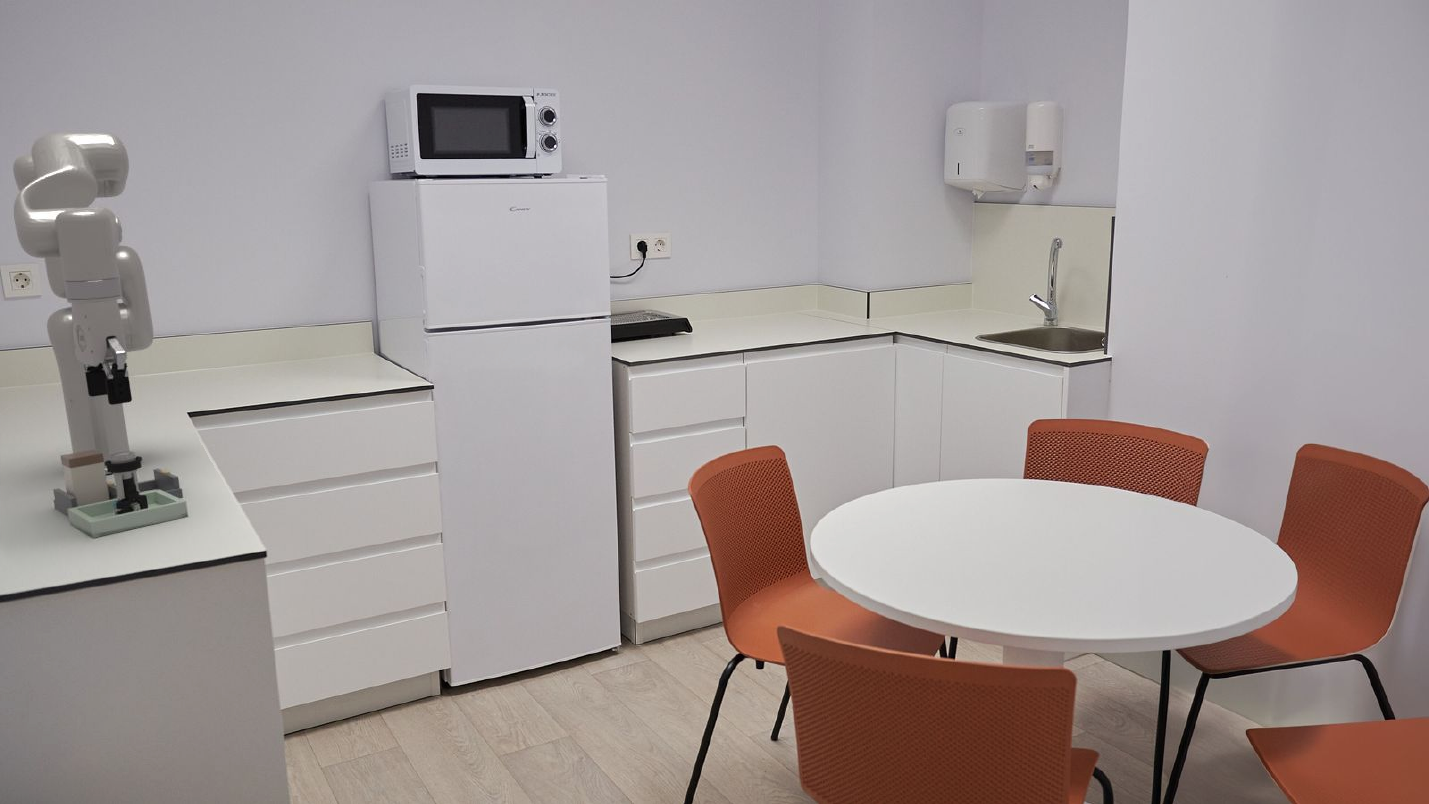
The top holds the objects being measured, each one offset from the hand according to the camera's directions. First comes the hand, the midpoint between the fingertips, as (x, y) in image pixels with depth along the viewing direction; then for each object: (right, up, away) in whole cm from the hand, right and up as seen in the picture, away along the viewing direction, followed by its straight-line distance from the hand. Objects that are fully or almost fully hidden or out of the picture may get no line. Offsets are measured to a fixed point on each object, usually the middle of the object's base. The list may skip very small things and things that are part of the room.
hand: (110, 399), depth 173 cm
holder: (-6, -18, +14) cm, 23 cm away
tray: (+1, -19, +3) cm, 20 cm away
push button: (+1, -19, +4) cm, 19 cm away
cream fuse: (-9, -19, +11) cm, 24 cm away
